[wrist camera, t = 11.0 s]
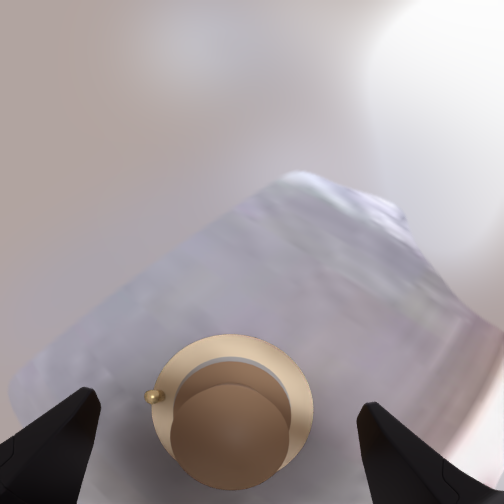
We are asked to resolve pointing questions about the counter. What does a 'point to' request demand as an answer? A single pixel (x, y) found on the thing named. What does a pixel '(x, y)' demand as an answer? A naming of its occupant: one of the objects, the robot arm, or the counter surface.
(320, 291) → the counter surface
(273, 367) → the plate
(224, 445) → the brown flanged knob
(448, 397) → the counter surface
